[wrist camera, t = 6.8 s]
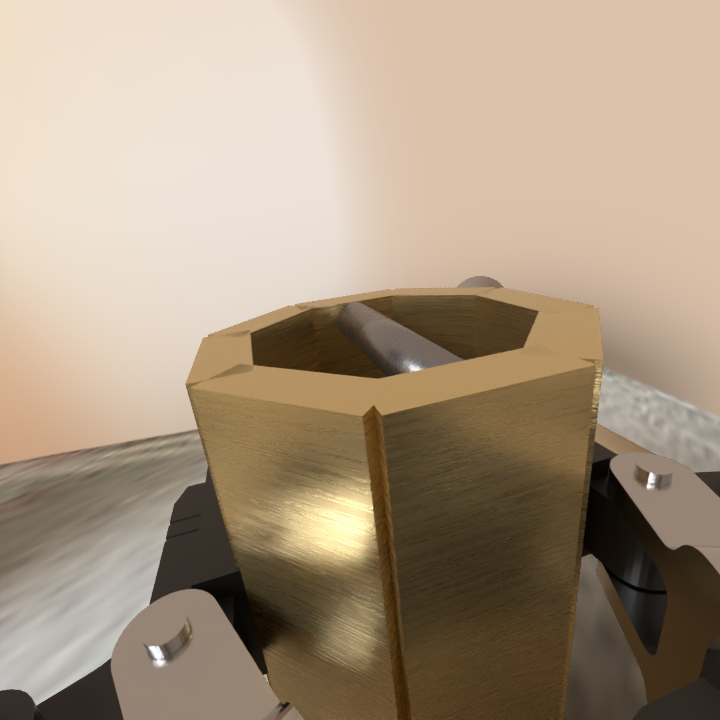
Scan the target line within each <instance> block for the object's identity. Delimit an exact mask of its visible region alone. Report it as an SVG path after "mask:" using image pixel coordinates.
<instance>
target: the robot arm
mask: <svg viewBox="0 0 720 720" xmlns="http://www.w3.org/2000/svg"><path fill="white" fill-rule="evenodd" d="M588 554H593V555H594V556H595V557H596V558H597V559H598V561H597V568H596V572H597V576H598V579H599V581H600V583H601V586H602V588H603V590H604V592H605V594H606V596H607V598H608V601H609V603H610V605H611V607H612V609H613V611H614V613H615V615H616V618H617V620H618V622H619V624H620V626H621V628H622V630H623V632H624V635H625V637H626V639H627V641H628V643H629V645H630V647H631V649H632V652H633V654H634V656H635V658H636V660H637V662H638V664H639V667H640V669H641V672H642V675H643V678H644V682H645V687H646V695H647V703H648V704H647V705H645V706H643V707H642V708H641V709H640V711H639V712H638V713H637V715H636V716H635V717H634V719H633V720H720V472H698V473H693V472H692V471H691V470H690V469H688V468H687V467H685V466H684V465H682V464H680V463H678V462H676V461H673V460H671V459H668V458H665V457H662V456H658V455H654V454H648V453H637V452H633V453H623V454H620V455H618V454H616V453H614V452H613V451H611V450H609V449H607V448H606V447H604V446H602V445H601V444H599V443H597V442H595V441H594V450H593V459H592V468H591V477H590V486H589V495H588V504H587V513H586V522H585V530H584V539H583V548H582V557H583V556H586V555H588ZM267 673H268V669H267V666H266V662H265V658H264V655H263V651H262V647H261V644H260V640H259V637H258V633H257V629H256V626H255V622H254V619H253V615H252V611H251V608H250V604H249V600H248V597H247V593H246V590H245V586H244V582H243V579H242V575H241V572H240V568H239V567H236V563H235V559H234V556H233V552H232V549H231V545H230V542H229V538H228V534H227V531H226V527H225V524H224V520H223V517H222V513H221V509H220V506H219V502H218V499H217V495H216V491H215V488H214V484H213V481H212V477H211V474H210V470H209V466H208V470H207V477H206V482H205V483H201V484H197V485H193V486H189V487H188V488H187V489H186V490H185V491H184V493H183V494H182V495H181V497H180V498H179V499H178V500H177V502H176V503H175V504H174V508H173V512H172V516H171V520H170V526H169V528H168V532H167V536H166V542H165V544H164V548H163V552H162V556H161V560H160V564H159V568H158V572H157V576H156V580H155V584H154V588H153V592H152V596H151V600H150V604H149V606H148V607H146V608H145V609H144V610H143V611H141V612H140V613H139V614H138V615H137V616H136V617H135V618H134V619H133V620H132V621H131V622H130V623H129V625H128V626H127V627H126V628H125V630H124V631H123V633H122V634H121V636H120V637H119V639H118V641H117V643H116V645H115V648H114V651H113V654H112V658H111V659H109V660H108V661H107V662H106V663H104V664H103V665H102V666H100V667H99V668H97V669H96V670H94V671H93V672H91V673H90V674H88V675H86V676H85V677H83V678H81V679H80V680H78V681H76V682H75V683H73V684H72V685H70V686H68V687H67V688H65V689H63V690H62V691H60V692H58V693H57V694H55V695H53V696H52V697H50V698H48V699H47V700H45V701H43V702H42V703H40V704H39V705H37V706H36V704H35V703H34V701H33V699H32V698H31V697H30V696H29V695H28V694H27V693H26V692H23V691H21V690H13V689H11V690H3V691H0V720H304V719H303V717H302V716H301V715H300V713H299V712H298V711H297V710H296V708H295V707H294V706H293V705H292V704H291V703H289V702H286V703H285V704H282V703H281V702H280V700H279V699H278V698H277V696H276V695H275V693H274V692H273V690H272V689H271V687H270V686H269V684H268V682H267V681H266V679H265V678H264V676H263V675H264V674H267Z"/></svg>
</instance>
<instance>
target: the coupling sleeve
mask: <svg viewBox="0 0 720 720" xmlns="http://www.w3.org/2000/svg"><path fill="white" fill-rule="evenodd" d="M602 369H603V349H602V339H601V328H600V318H599V308H593V305H588V304H583V303H578V302H572V301H567V300H563V299H558V298H553V297H548V296H542V295H537V294H532V293H527V292H522V291H517V290H512V289H507V288H497V289H495V287H472V288H417V289H416V288H413V289H395V290H393V291H392V290H382V291H376V292H370V293H363V294H357V295H350V296H344V297H338V298H331V299H325V300H319V301H312V302H306V303H299V304H295V306H287V307H284V308H281V309H278V310H276V311H273V312H270V313H267V314H265V315H262V316H259V317H256V318H254V319H251V320H248V321H245V322H243V323H240V324H237V325H234V326H232V327H229V328H226V329H223V330H220V331H218V332H215V333H212V334H209V335H208V337H206V338H203V340H202V342H201V345H200V348H199V350H198V353H197V355H196V358H195V361H194V364H193V366H192V369H191V371H190V374H189V376H188V379H187V382H186V388H187V391H188V395H189V398H190V402H191V405H192V409H193V413H194V416H195V420H196V423H197V427H198V431H199V434H200V438H201V441H202V445H203V449H204V452H205V456H206V459H207V463H208V466H209V470H210V474H211V477H212V481H213V484H214V488H215V491H216V495H217V499H218V502H219V506H220V509H221V513H222V517H223V520H224V524H225V527H226V531H227V534H228V538H229V542H230V545H231V549H232V552H233V556H234V559H235V563H236V567H239V568H240V572H241V575H242V579H243V582H244V586H245V590H246V593H247V597H248V600H249V604H250V608H251V611H252V615H253V619H254V622H255V626H256V629H257V633H258V637H259V640H260V644H261V647H262V651H263V655H264V658H265V662H266V666H267V669H268V673H267V678H268V681H269V685H270V687H271V689H272V690H273V692H274V693H275V695H276V696H277V698H278V699H279V700H280V702H281V703H282V704H285V703H286V702H289V703H291V704H292V705H293V706H294V707H295V708H296V710H297V711H298V712H299V713H300V715H301V716H302V717H303V719H304V720H563V719H564V710H565V701H566V692H567V683H568V674H569V665H570V656H571V647H572V638H573V629H574V620H575V611H576V602H577V593H578V584H579V575H580V566H581V557H582V548H583V539H584V530H585V522H586V513H587V504H588V495H589V486H590V477H591V468H592V459H593V450H594V441H595V432H596V423H597V414H598V405H599V396H600V387H601V378H602Z"/></svg>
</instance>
